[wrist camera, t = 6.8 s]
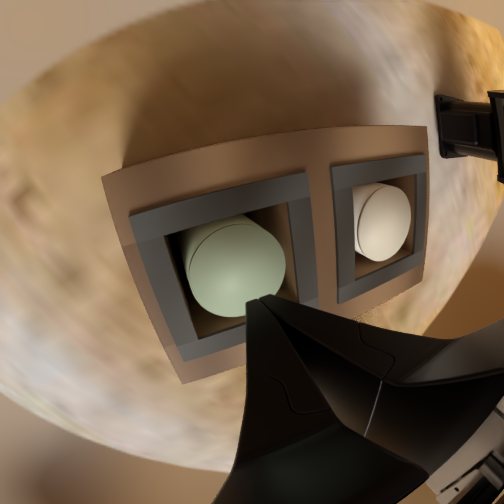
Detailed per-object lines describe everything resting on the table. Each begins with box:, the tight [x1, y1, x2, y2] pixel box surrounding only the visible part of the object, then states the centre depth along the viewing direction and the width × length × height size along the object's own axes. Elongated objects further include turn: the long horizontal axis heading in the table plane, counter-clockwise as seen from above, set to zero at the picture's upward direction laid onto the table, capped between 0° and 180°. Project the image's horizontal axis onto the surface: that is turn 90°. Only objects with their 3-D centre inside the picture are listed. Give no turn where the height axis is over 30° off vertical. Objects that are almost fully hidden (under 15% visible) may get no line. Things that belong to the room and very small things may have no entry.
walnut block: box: [101, 125, 429, 384], centre depth 15 cm, size 16×10×6 cm, turn 100°
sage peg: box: [177, 214, 286, 317], centre depth 13 cm, size 4×4×6 cm
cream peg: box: [352, 182, 411, 261], centre depth 15 cm, size 4×4×6 cm
